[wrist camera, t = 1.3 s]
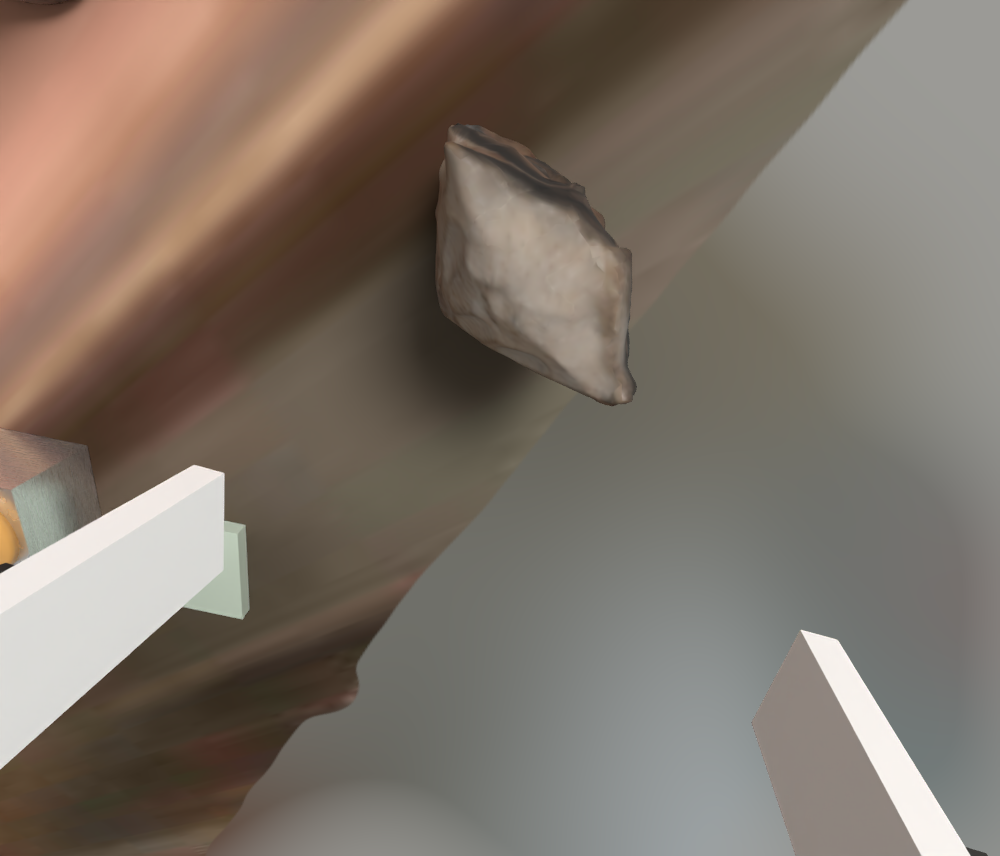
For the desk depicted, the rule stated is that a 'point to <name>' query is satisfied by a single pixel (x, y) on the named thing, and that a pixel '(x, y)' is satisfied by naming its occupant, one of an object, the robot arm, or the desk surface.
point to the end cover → (8, 542)
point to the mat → (228, 578)
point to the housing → (45, 489)
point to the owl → (532, 266)
